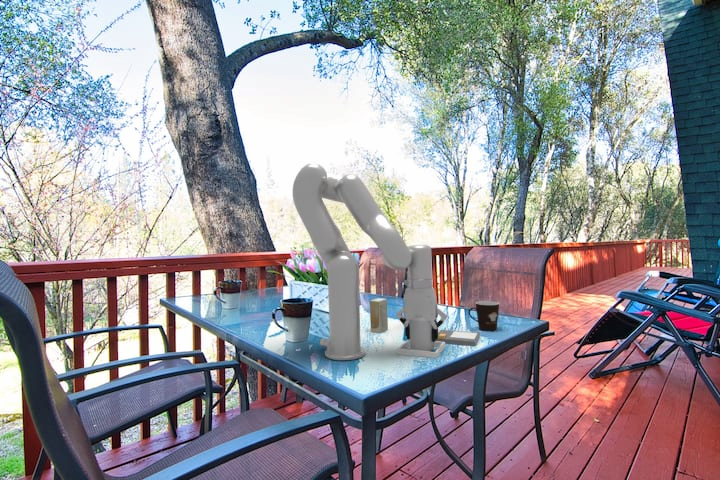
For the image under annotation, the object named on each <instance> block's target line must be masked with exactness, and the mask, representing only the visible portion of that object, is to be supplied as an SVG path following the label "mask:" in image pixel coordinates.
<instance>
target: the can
mask: <svg viewBox="0 0 720 480" xmlns="http://www.w3.org/2000/svg"><path fill="white" fill-rule="evenodd" d="M415 316H416V317H414V318H412V319H411V320H409V330H410V345H409V349H410V350H420V351H430V352H433V350H434V348H435V346H434V342H432V329H433V326H432V324H431V322H428V321H427V320H425V319H424V318H422V317H421V316H423V315H415Z"/></svg>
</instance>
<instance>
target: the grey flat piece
mask: <svg viewBox="0 0 720 480" xmlns="http://www.w3.org/2000/svg"><path fill="white" fill-rule="evenodd" d="M480 338H481V332H475V331H462V330H461V331H460V330H449V329H438V339H437V340H436V341H440V342H445V345H446V344H447V345H456V346H457V345H458V346H459V345H460V346H470V347H476V346H477V344H478V342H479V340H480Z"/></svg>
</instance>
